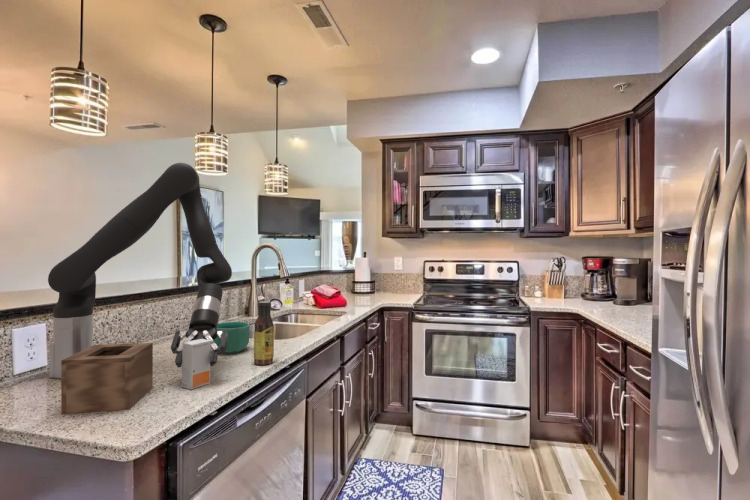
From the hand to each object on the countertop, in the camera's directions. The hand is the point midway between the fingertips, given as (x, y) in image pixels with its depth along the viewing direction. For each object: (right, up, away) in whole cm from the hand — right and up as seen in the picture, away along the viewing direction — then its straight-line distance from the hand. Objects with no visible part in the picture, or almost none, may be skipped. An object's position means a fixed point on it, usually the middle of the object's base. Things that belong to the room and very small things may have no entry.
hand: (195, 365), depth 104 cm
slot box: (-17, -6, -9) cm, 20 cm away
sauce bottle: (+12, -6, +22) cm, 26 cm away
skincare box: (0, -6, +1) cm, 6 cm away
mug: (-6, -6, +36) cm, 37 cm away
